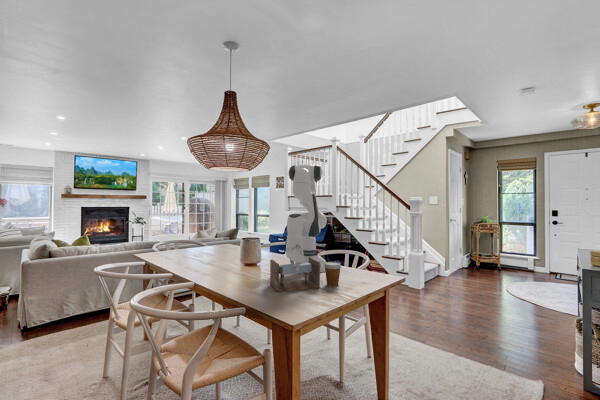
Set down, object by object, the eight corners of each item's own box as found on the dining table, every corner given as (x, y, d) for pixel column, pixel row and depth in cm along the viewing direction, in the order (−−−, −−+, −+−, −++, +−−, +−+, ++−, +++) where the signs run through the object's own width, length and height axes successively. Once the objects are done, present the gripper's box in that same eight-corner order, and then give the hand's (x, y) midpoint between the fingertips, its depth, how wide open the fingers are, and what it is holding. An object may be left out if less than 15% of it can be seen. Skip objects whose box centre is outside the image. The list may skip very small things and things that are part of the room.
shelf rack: (310, 281, 172) (310, 257, 172) (319, 287, 159) (319, 261, 159) (270, 284, 164) (270, 259, 164) (276, 292, 151) (276, 264, 151)
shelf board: (305, 269, 169) (305, 262, 169) (311, 271, 164) (311, 264, 164) (277, 272, 160) (277, 265, 160) (282, 275, 154) (282, 267, 154)
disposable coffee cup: (331, 288, 158) (331, 266, 158) (320, 284, 166) (320, 262, 166) (344, 285, 163) (344, 264, 163) (333, 281, 171) (333, 261, 171)
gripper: (306, 246, 153) (306, 272, 153) (294, 240, 172) (294, 264, 172) (295, 246, 151) (295, 273, 151) (284, 241, 170) (284, 265, 170)
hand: (294, 268), depth 162 cm, fingers closed on shelf board, 6 cm apart
